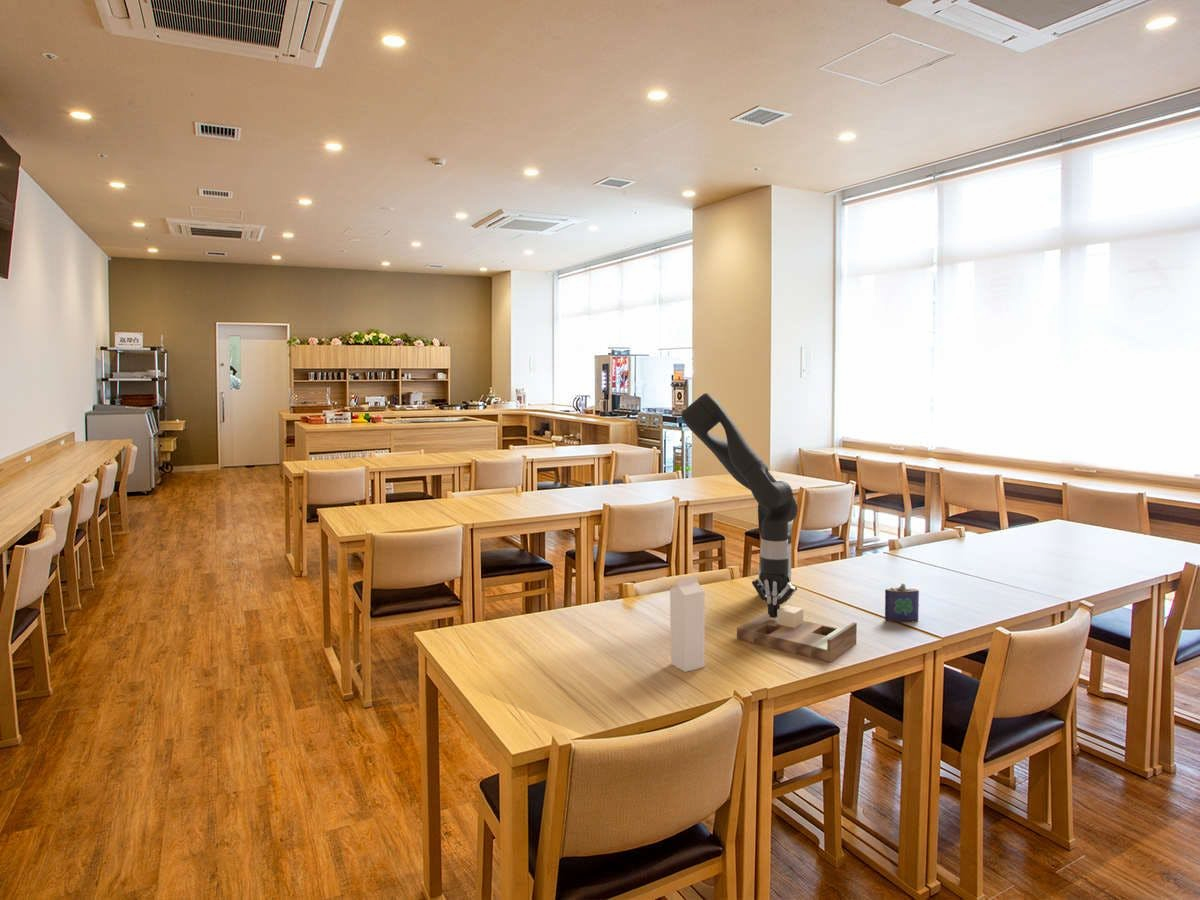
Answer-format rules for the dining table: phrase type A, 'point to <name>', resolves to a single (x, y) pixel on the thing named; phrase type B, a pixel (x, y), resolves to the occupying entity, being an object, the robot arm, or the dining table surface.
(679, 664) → the milk
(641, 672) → the dining table surface
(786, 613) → the block
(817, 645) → the board
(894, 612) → the flask
